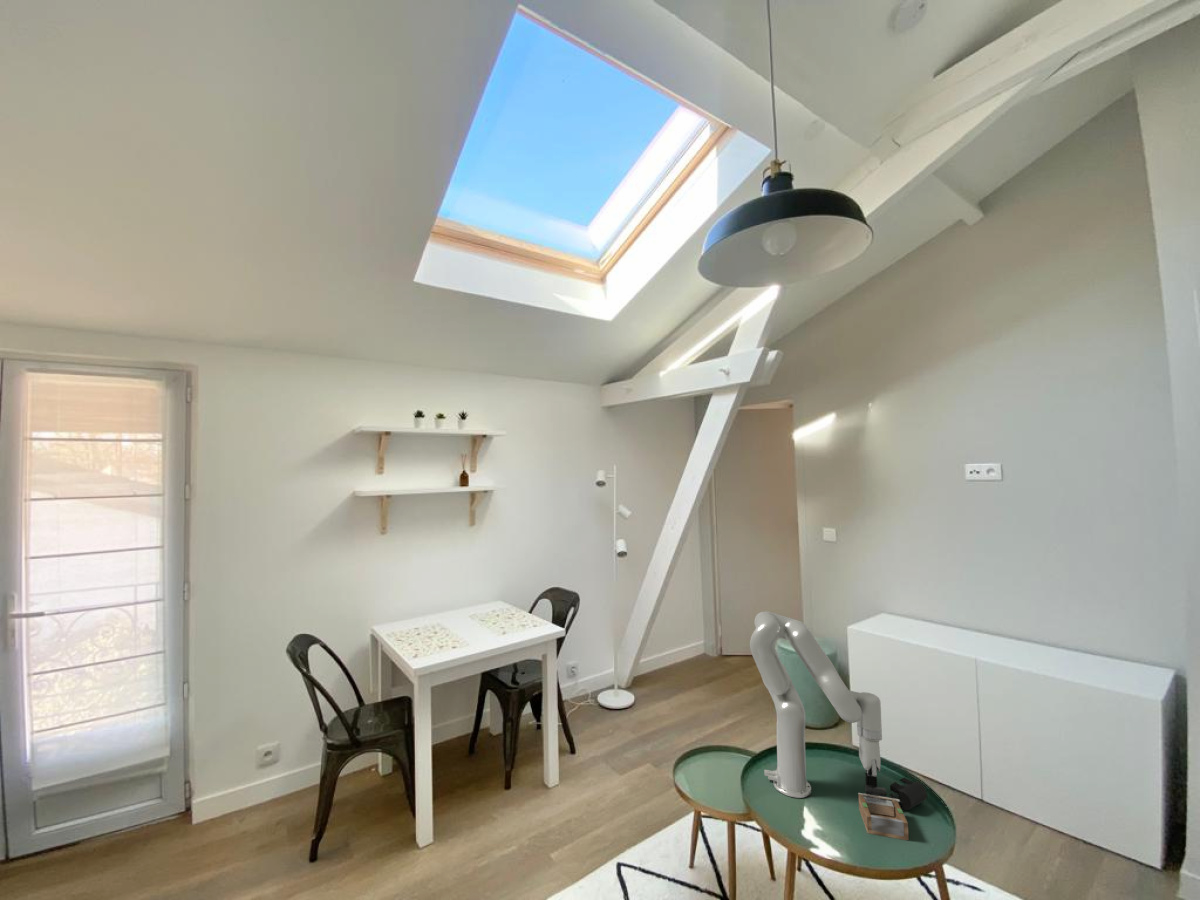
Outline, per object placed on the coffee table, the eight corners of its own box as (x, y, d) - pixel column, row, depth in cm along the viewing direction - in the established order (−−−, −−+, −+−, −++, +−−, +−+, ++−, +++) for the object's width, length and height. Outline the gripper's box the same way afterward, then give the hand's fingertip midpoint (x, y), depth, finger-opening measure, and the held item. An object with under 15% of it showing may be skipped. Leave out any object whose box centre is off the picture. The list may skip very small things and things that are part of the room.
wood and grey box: (867, 833, 152) (866, 815, 152) (859, 808, 164) (858, 792, 164) (908, 840, 149) (907, 822, 149) (896, 815, 160) (896, 798, 161)
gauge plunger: (859, 810, 160) (859, 794, 161) (855, 799, 166) (855, 783, 167) (901, 817, 157) (900, 801, 157) (895, 805, 163) (895, 789, 163)
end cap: (911, 816, 160) (910, 794, 160) (889, 804, 166) (888, 783, 167) (928, 806, 165) (927, 785, 165) (906, 794, 171) (905, 774, 172)
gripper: (852, 720, 179) (854, 772, 178) (862, 740, 165) (864, 797, 164) (875, 723, 177) (877, 776, 176) (887, 744, 163) (889, 801, 162)
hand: (871, 786), depth 170 cm, fingers closed
